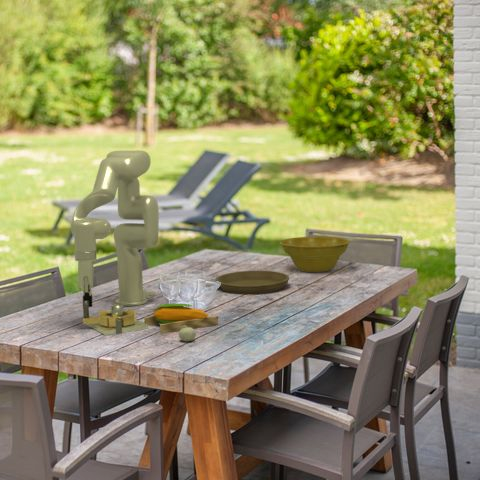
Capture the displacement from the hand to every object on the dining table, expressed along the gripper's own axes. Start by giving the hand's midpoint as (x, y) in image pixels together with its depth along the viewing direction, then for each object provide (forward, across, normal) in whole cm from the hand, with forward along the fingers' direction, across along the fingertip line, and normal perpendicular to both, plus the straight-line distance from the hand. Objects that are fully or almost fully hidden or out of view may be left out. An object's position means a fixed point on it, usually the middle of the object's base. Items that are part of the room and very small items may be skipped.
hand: (87, 306), depth 344 cm
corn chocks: (+7, +7, +33) cm, 34 cm away
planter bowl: (+5, -86, +99) cm, 131 cm away
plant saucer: (+6, -54, +66) cm, 85 cm away
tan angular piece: (+5, +5, +8) cm, 11 cm away
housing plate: (+7, +6, +10) cm, 14 cm away
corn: (+6, +7, +33) cm, 34 cm away
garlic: (+7, +30, +34) cm, 45 cm away
